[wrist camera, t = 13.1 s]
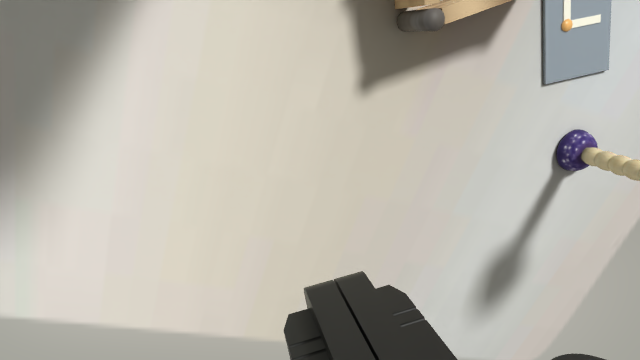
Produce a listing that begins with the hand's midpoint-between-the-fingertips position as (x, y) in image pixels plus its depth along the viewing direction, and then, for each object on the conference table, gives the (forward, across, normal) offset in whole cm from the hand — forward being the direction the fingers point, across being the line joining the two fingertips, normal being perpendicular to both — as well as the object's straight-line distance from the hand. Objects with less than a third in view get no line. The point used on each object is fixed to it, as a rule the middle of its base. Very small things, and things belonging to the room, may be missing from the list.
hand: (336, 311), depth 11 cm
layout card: (+29, -32, -4) cm, 43 cm away
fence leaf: (+29, -21, -6) cm, 36 cm away
